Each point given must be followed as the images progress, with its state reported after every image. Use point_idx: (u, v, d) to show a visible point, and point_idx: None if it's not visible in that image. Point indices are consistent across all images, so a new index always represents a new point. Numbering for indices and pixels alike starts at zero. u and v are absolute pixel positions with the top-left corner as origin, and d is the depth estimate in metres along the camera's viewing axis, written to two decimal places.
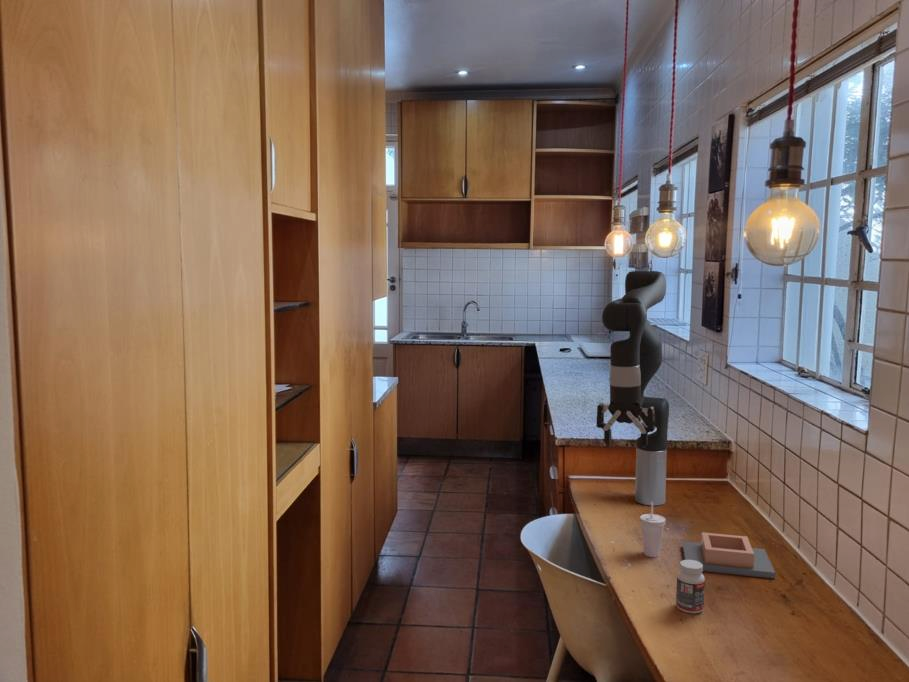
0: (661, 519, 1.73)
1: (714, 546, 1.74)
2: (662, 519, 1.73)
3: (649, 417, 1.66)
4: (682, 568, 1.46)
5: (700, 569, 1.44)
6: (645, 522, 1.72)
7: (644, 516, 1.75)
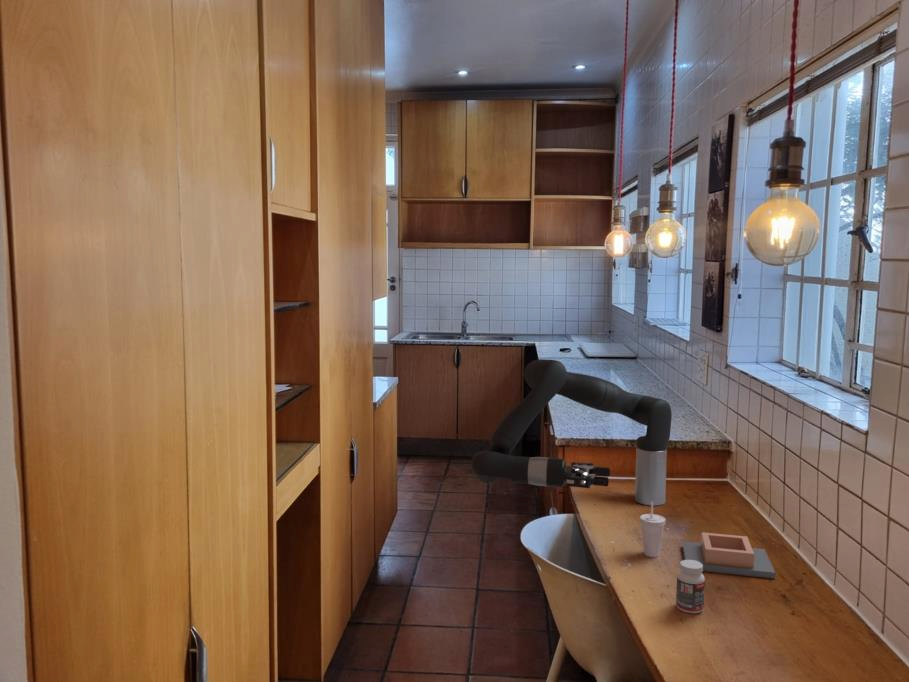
0: (661, 519, 1.73)
1: (714, 546, 1.74)
2: (662, 519, 1.73)
3: None
4: (682, 568, 1.46)
5: (700, 569, 1.44)
6: (645, 522, 1.72)
7: (644, 516, 1.75)
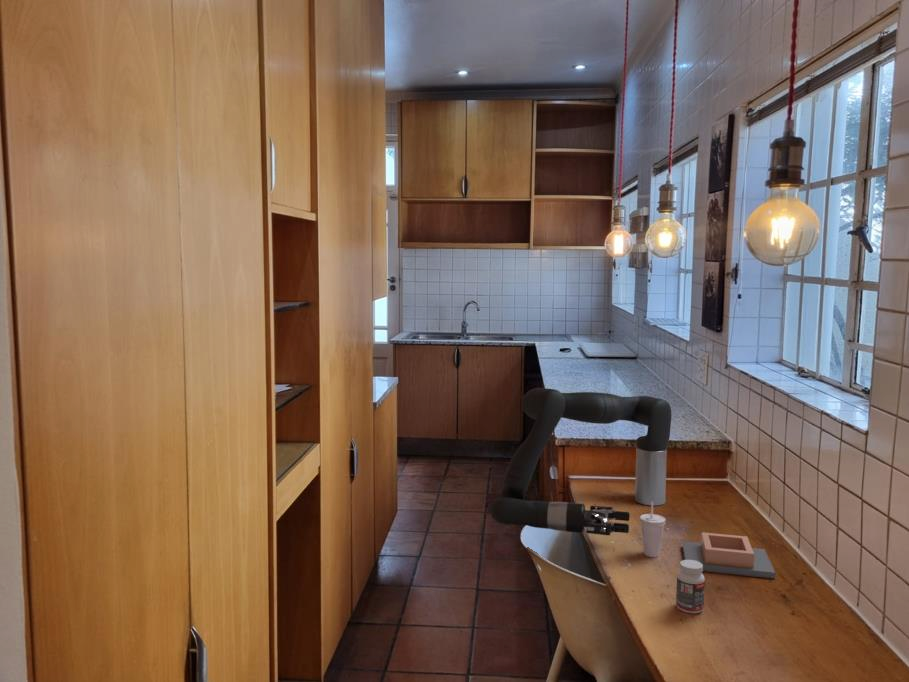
0: (661, 519, 1.73)
1: (714, 546, 1.74)
2: (662, 519, 1.73)
3: None
4: (682, 568, 1.46)
5: (700, 569, 1.44)
6: (645, 522, 1.72)
7: (644, 516, 1.75)
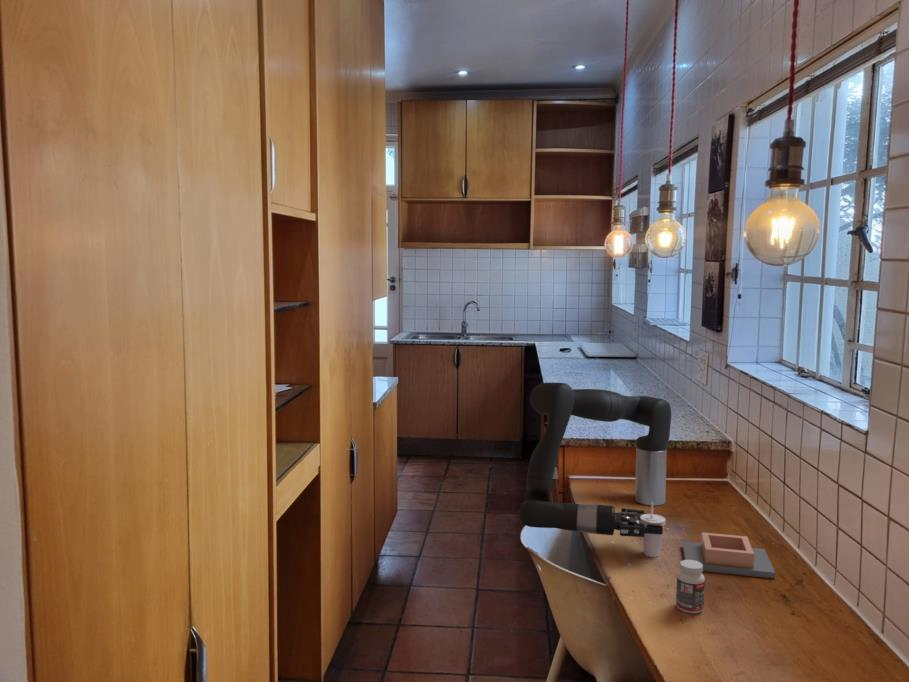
0: (661, 519, 1.73)
1: (714, 546, 1.74)
2: (662, 519, 1.73)
3: None
4: (682, 568, 1.46)
5: (700, 569, 1.44)
6: (645, 522, 1.72)
7: (644, 516, 1.75)
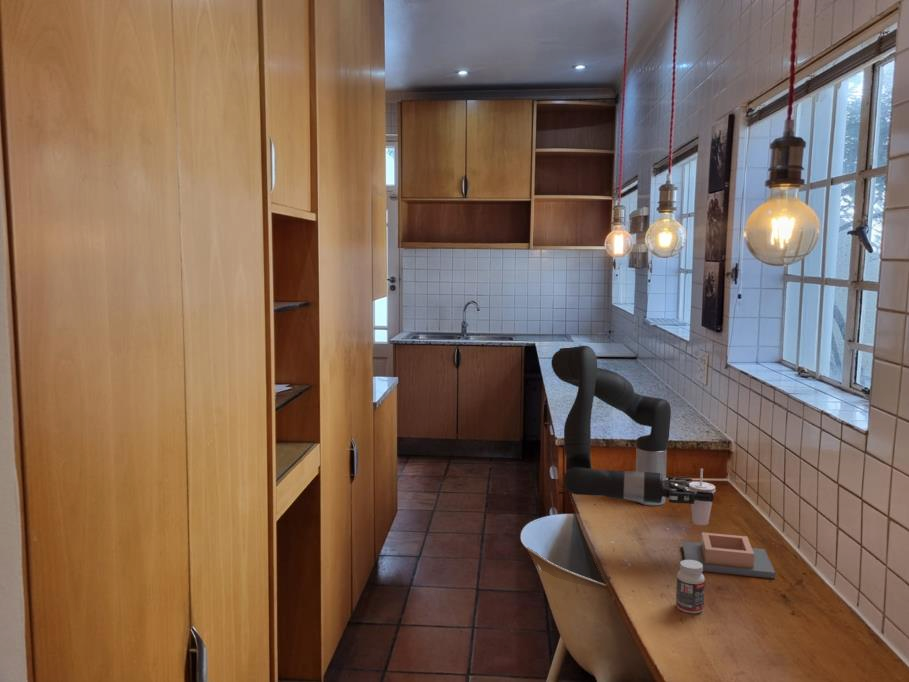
0: (711, 486, 1.69)
1: (714, 546, 1.74)
2: (712, 486, 1.69)
3: None
4: (682, 568, 1.46)
5: (700, 569, 1.44)
6: (694, 489, 1.68)
7: (693, 483, 1.71)
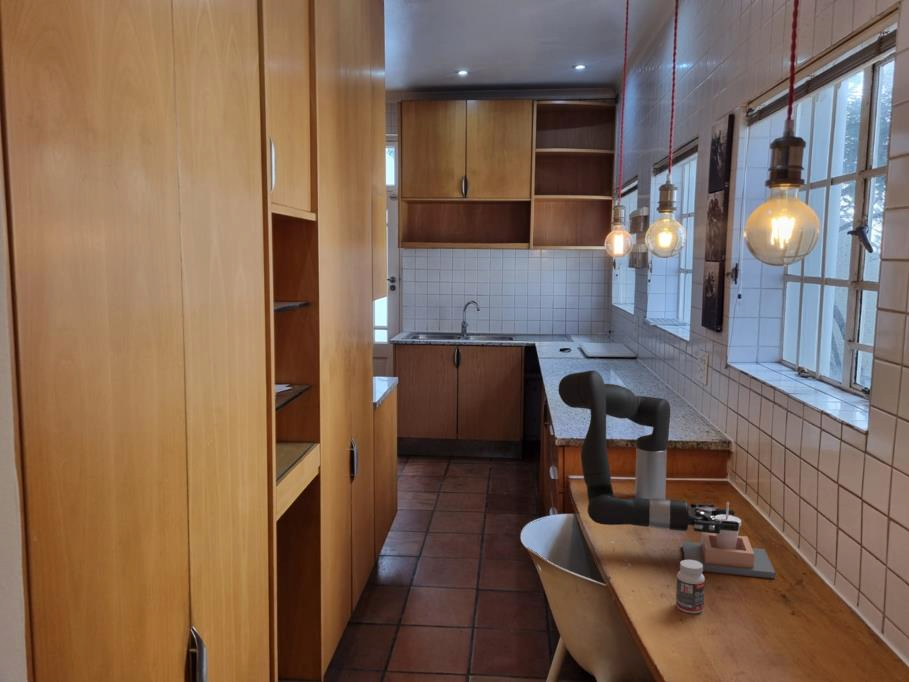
0: (737, 520, 1.68)
1: (714, 546, 1.74)
2: (738, 520, 1.68)
3: None
4: (682, 568, 1.46)
5: (700, 569, 1.44)
6: None
7: (718, 517, 1.70)
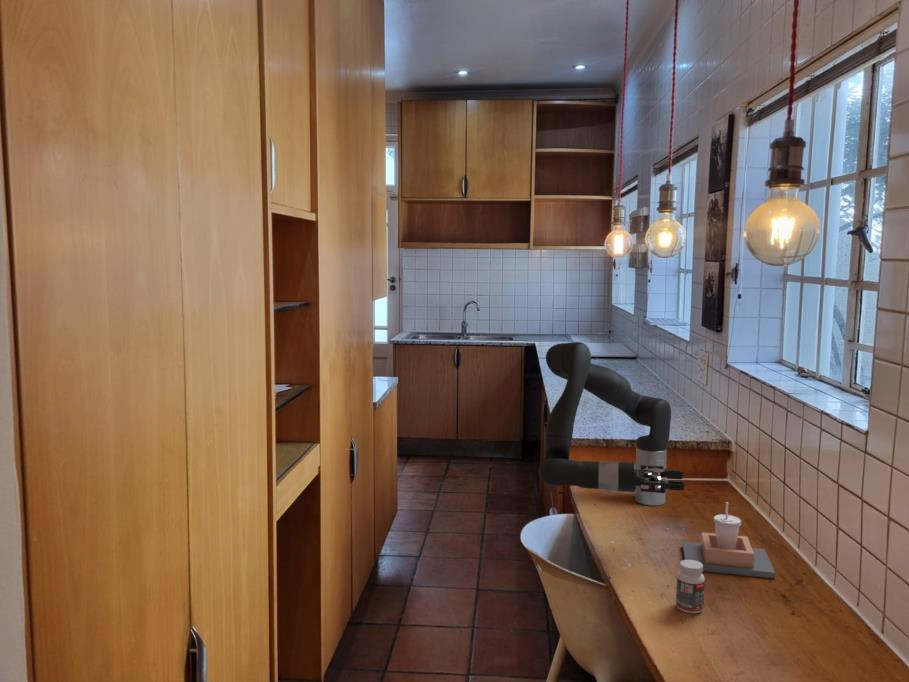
0: (736, 520, 1.68)
1: (714, 546, 1.74)
2: (737, 520, 1.68)
3: None
4: (682, 568, 1.46)
5: (700, 569, 1.44)
6: (720, 523, 1.67)
7: (718, 517, 1.70)
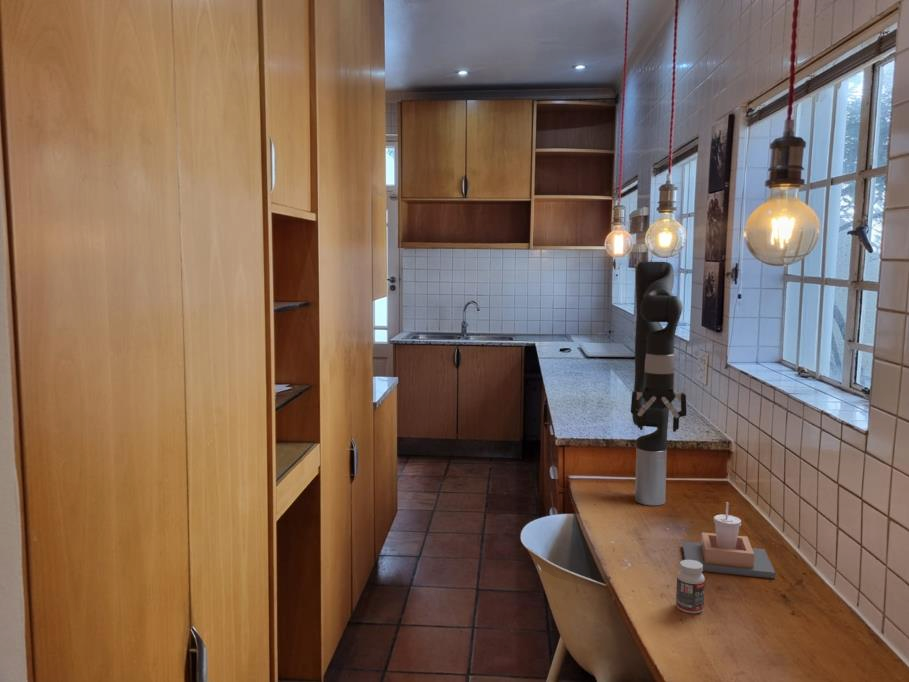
0: (736, 520, 1.68)
1: (714, 546, 1.74)
2: (737, 520, 1.68)
3: (682, 402, 1.78)
4: (682, 568, 1.46)
5: (700, 569, 1.44)
6: (720, 523, 1.67)
7: (718, 517, 1.70)
